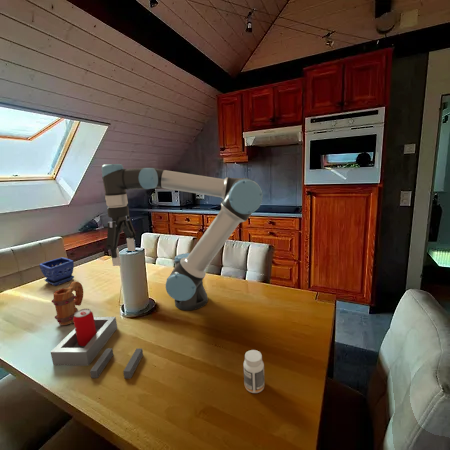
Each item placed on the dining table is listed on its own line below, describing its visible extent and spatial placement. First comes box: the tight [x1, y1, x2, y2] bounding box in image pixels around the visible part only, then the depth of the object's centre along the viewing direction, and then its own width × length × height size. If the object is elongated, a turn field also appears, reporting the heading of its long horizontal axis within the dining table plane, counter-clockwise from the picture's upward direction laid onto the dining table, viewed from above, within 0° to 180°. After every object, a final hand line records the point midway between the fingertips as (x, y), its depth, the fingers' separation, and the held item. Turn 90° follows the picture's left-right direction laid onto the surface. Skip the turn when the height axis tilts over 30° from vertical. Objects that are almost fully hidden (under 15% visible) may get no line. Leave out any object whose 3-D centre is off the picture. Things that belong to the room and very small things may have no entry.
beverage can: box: [73, 308, 96, 347], centre depth 93 cm, size 6×6×12 cm
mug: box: [50, 281, 84, 326], centre depth 111 cm, size 15×8×15 cm, turn 168°
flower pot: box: [39, 257, 75, 287], centre depth 151 cm, size 13×13×12 cm
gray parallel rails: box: [89, 347, 144, 379], centre depth 84 cm, size 12×10×2 cm
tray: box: [50, 316, 118, 367], centre depth 94 cm, size 12×20×5 cm, turn 176°
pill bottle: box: [242, 349, 265, 394], centre depth 73 cm, size 6×6×10 cm
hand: (124, 259), depth 104 cm, fingers open, 13 cm apart
